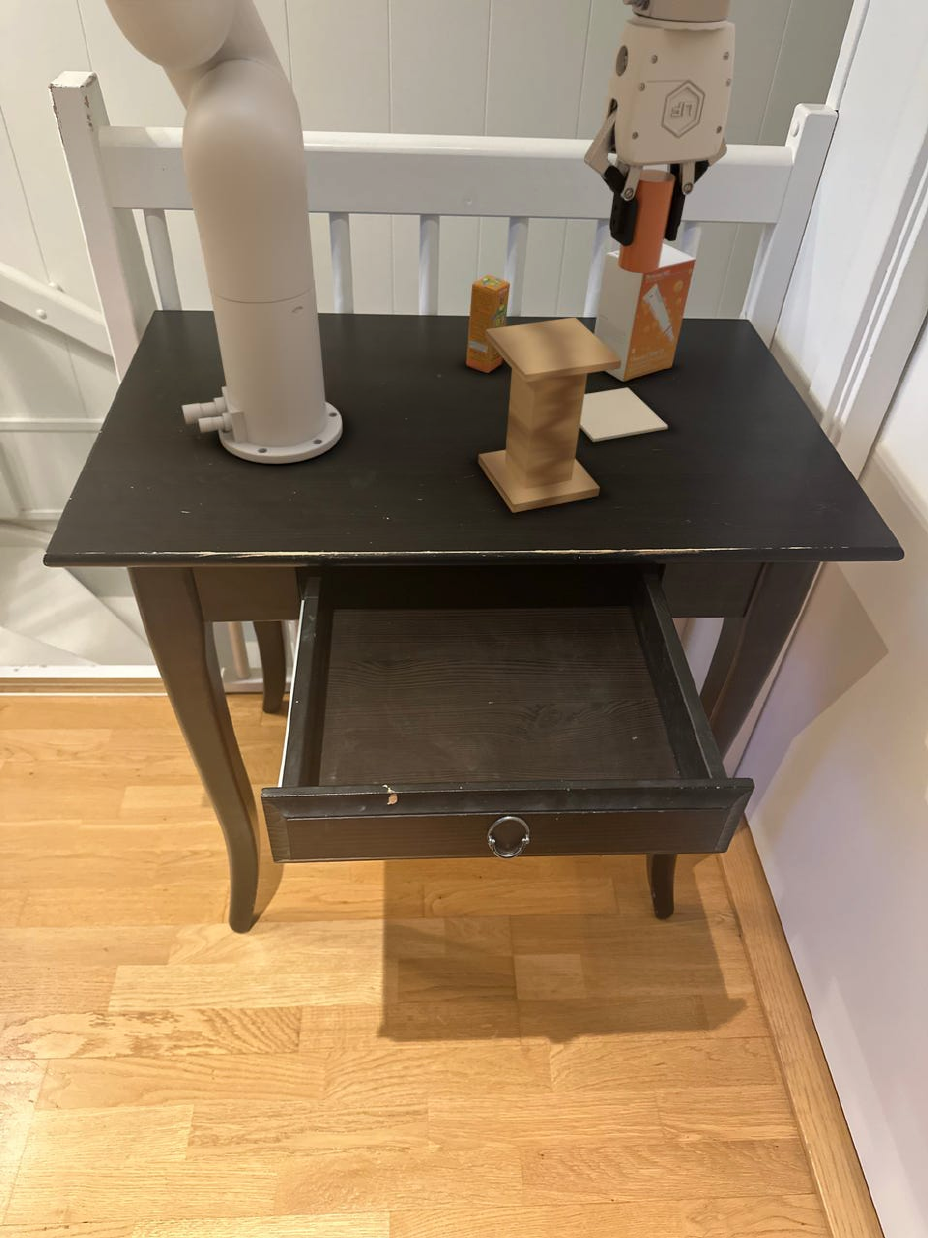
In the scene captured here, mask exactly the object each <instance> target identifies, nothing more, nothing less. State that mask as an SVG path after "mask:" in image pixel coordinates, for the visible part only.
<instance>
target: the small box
mask: <svg viewBox="0 0 928 1238" xmlns="http://www.w3.org/2000/svg"><path fill="white" fill-rule="evenodd" d="M619 250H620V249H619ZM619 250H614V251H609V252H606V254H605V259H604V265H603V271H602V272H603V273H602V278H601V279H602V280H601V286H600V292H599V297H598V306H597V311H596V317H595V324H594V325H595V326H594V332H593V334H594V335H595V336H596V337H597V338H598V339H599V340H600V341H601V342H602V343H604V344H605V345H606V346H607V347H608V348H609V349H610V350H611V351H612V352H613V353H614V354H615V355H617V356H618V357H619V358H620V359H621V367H620V368H619V369H612V370H606V371H605V373H607V374H609V375H611V376H612V377H614V378H615V379H617V380H619V381H621V382H623V383H625V382H628V381H630V380H632V379H633V380H634V379H636V378H639V377H644V376H646V375H649V374H652V373H655V372H659V371H662V370H666V369H667V370H668V369H670V368H672V366H673V362H674V358H675V354H676V349H677V344H678V340H679V336H680V333H681V332H680V331H681V327H682V323H683V318H684V314H685V310H686V304H687V302H688V301H687V300H688V297H689V296H688V295H689V293H690V292H689V291H690V289H691V288H690V287H691V283H692V279H693V274H694V270H695V265H696V261H697V259H696V258H695V257H693V256H691V255H689V254H687V253H684V252H682V251H680V250H678V249H676V248H674V247H672V246H670V245H668V244H666V243H663V248H662V254H661V259H660V265H659V268H658V270H656V271H654V272H651V273H634V272H629V271H626V270H624V269H622V268H620V267H619V266H618V257H619Z"/></svg>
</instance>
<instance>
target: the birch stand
mask: <svg viewBox="0 0 928 1238" xmlns="http://www.w3.org/2000/svg"><path fill="white" fill-rule="evenodd" d="M485 338H486V339H487V340H488V341H489V342H490V343H491V344H492V346H493V347H494V348H495V349H496V350H497V351H498V353H499V354H500V355H501V356H502V359H503V360H505V361H504V362H506V363H507V364H508V365H509V367H510V368H511V379H510V391H509V404H508V415H507V416H508V417H507V428H506V441H505V449H503V450H498V451H491V452H485V453H479V454H478V458H477V459H478V461H477V462H478V465H479V466H480V468H481V470H483V472H484V473H485V475H486V476H487V478H488V480H489V481H490V482H491V483H492V485H493V486H494V488H495V489H496V490H497V492H498V494H499V495H500V496H501V498H502V499H503V501H504V502H505V504H506V505H507V507H508V508H509V509H510V511H511V513H513V514H514V513H515V514H516V513H518V512H520V513H521V512H524V511H529V510H534V509H540V508H544V507H550V506H554V505H555V506H556V505H560V504H565V503H570V502H575V501H581V500H585V499H590V498H595V497H599V496H600V495H599V494H600V487H601V486H599V485H598V484H597V482H596V481H595V480H594V479H593V477H591V475H590V474H589V473H588V472H587V470H586V469H585V468H584V467H583V466H582V465H581V464H580V462H579V461H578V460H577V459H576V455H577V454H576V453H577V448H578V447H577V446H578V441H579V433H580V420H581V413H582V406H583V399H584V394H586V393H585V391H586V386H587V377H588V374H592V373H597V372H598V373H599V372H606V370H612V369H619V368H620V367H621V359H620V358H619V357H618V356H617V355H615V354H614V353H613V352H612V351H611V350H610V349H609V348H608V347H607V346H606V345H605V344H604V343H602V342H601V341H600V340H599V339H598V338H597V337H596V336H595V335H594V332H592V331H591V330H590V329H589V328H587V327H586V326H585V325H584V324H583V323H582V322H581V321H580V320H579V319H578V318H577V317H569V318H562V319H561V318H560V319H554V320H544V321H538V322H530V323H525V324H524V323H523V324H515V325H507V326H505V327H499V328H491V329H486V330H485Z"/></svg>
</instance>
